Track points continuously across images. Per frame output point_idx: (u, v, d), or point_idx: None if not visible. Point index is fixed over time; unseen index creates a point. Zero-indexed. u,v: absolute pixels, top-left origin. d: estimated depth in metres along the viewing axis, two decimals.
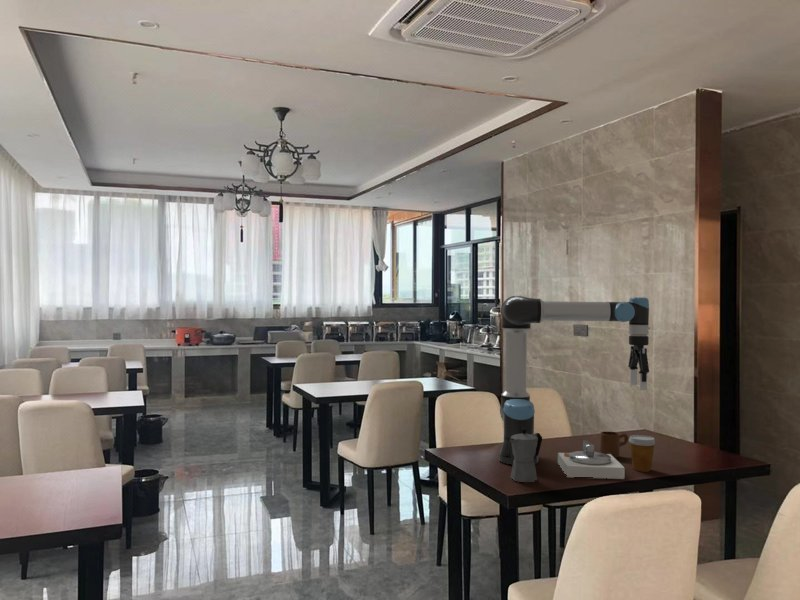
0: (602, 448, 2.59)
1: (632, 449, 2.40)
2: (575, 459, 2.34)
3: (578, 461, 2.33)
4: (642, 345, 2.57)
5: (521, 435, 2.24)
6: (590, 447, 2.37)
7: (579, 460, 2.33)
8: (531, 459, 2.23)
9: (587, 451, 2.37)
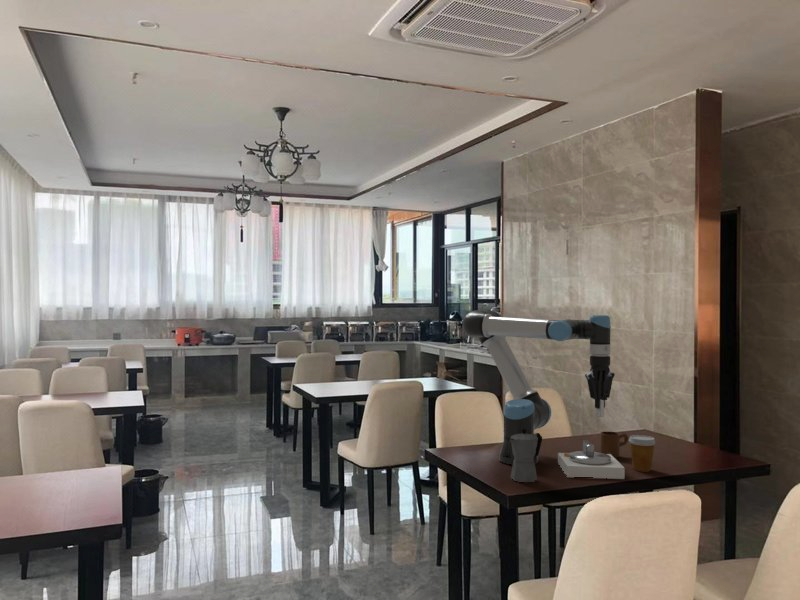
0: (602, 448, 2.59)
1: (632, 449, 2.40)
2: (575, 459, 2.34)
3: (578, 461, 2.33)
4: (593, 365, 2.44)
5: (521, 435, 2.24)
6: (590, 447, 2.37)
7: (579, 460, 2.33)
8: (531, 459, 2.23)
9: (587, 451, 2.37)
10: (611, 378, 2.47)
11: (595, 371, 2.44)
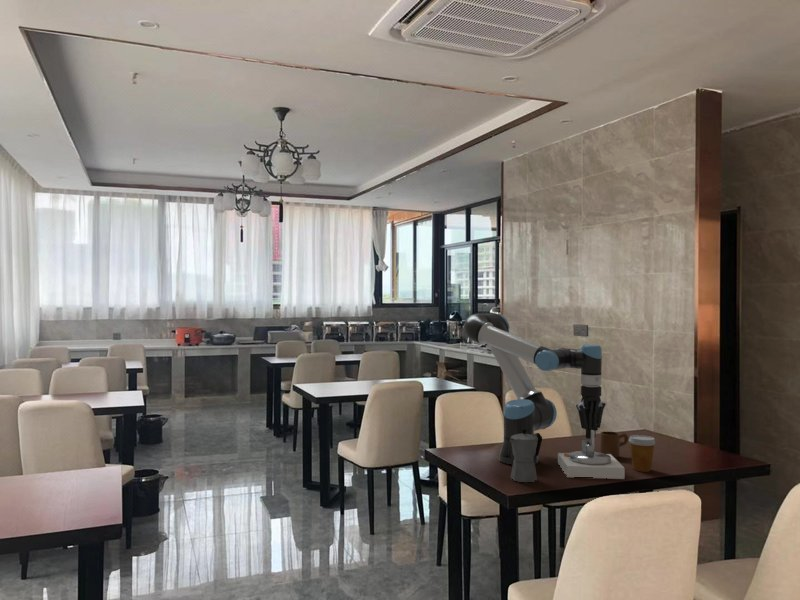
0: (602, 448, 2.59)
1: (632, 449, 2.40)
2: (576, 459, 2.34)
3: (579, 461, 2.33)
4: (584, 396, 2.43)
5: (521, 435, 2.24)
6: (590, 447, 2.37)
7: (580, 460, 2.33)
8: (531, 459, 2.23)
9: (587, 451, 2.37)
10: (602, 408, 2.46)
11: (586, 402, 2.42)
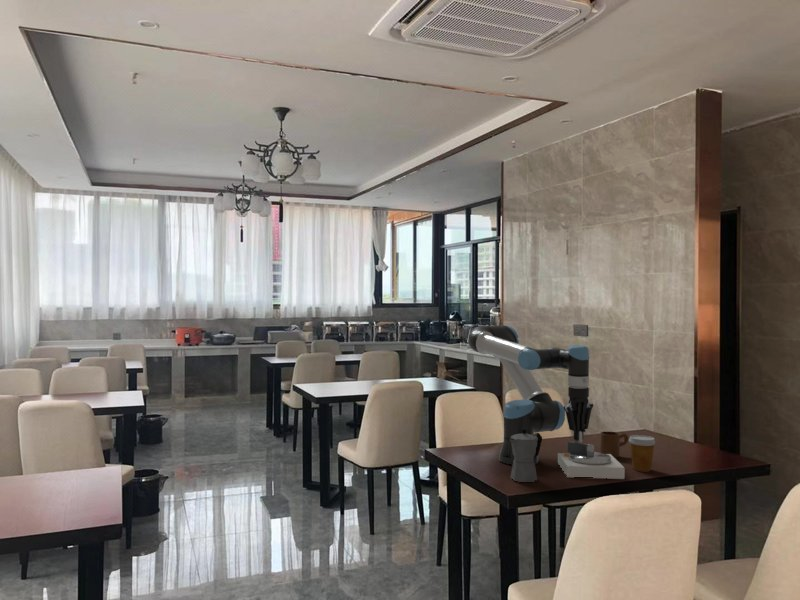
0: (602, 448, 2.59)
1: (632, 449, 2.40)
2: (593, 462, 2.31)
3: (597, 463, 2.31)
4: (571, 397, 2.40)
5: (521, 435, 2.24)
6: (593, 447, 2.37)
7: (598, 462, 2.31)
8: (531, 459, 2.23)
9: (591, 451, 2.37)
10: (590, 409, 2.44)
11: (573, 403, 2.40)
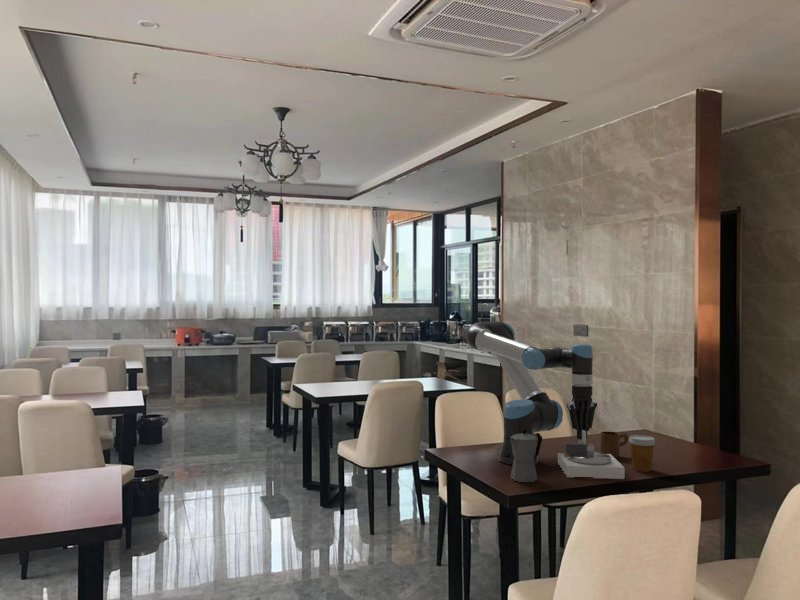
0: (602, 448, 2.59)
1: (632, 449, 2.40)
2: (602, 461, 2.31)
3: (605, 462, 2.32)
4: (575, 396, 2.40)
5: (521, 435, 2.24)
6: (593, 446, 2.38)
7: (605, 461, 2.32)
8: (531, 459, 2.23)
9: (592, 451, 2.37)
10: (593, 408, 2.43)
11: (577, 401, 2.40)
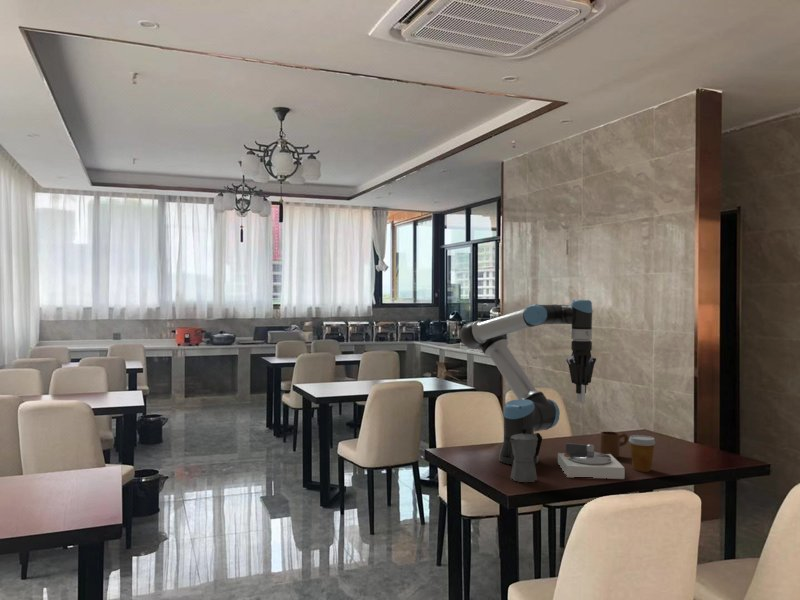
0: (602, 448, 2.59)
1: (632, 449, 2.40)
2: (602, 461, 2.31)
3: (605, 462, 2.32)
4: (574, 350, 2.43)
5: (521, 435, 2.24)
6: (593, 446, 2.38)
7: (605, 461, 2.32)
8: (531, 459, 2.23)
9: (592, 451, 2.37)
10: (593, 363, 2.46)
11: (576, 356, 2.43)
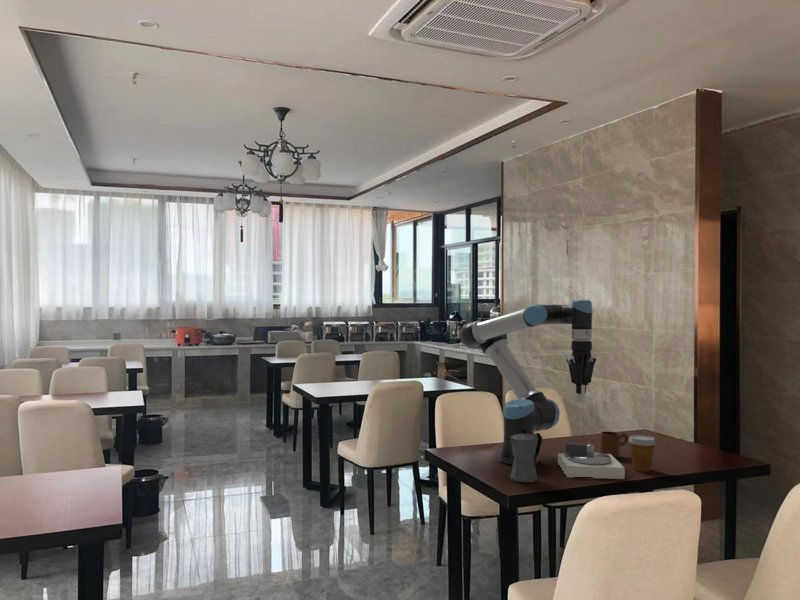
0: (602, 448, 2.59)
1: (632, 449, 2.40)
2: (602, 461, 2.31)
3: (605, 462, 2.32)
4: (574, 350, 2.43)
5: (521, 435, 2.24)
6: (593, 446, 2.38)
7: (605, 461, 2.32)
8: (531, 459, 2.23)
9: (592, 451, 2.37)
10: (593, 363, 2.46)
11: (576, 356, 2.43)
